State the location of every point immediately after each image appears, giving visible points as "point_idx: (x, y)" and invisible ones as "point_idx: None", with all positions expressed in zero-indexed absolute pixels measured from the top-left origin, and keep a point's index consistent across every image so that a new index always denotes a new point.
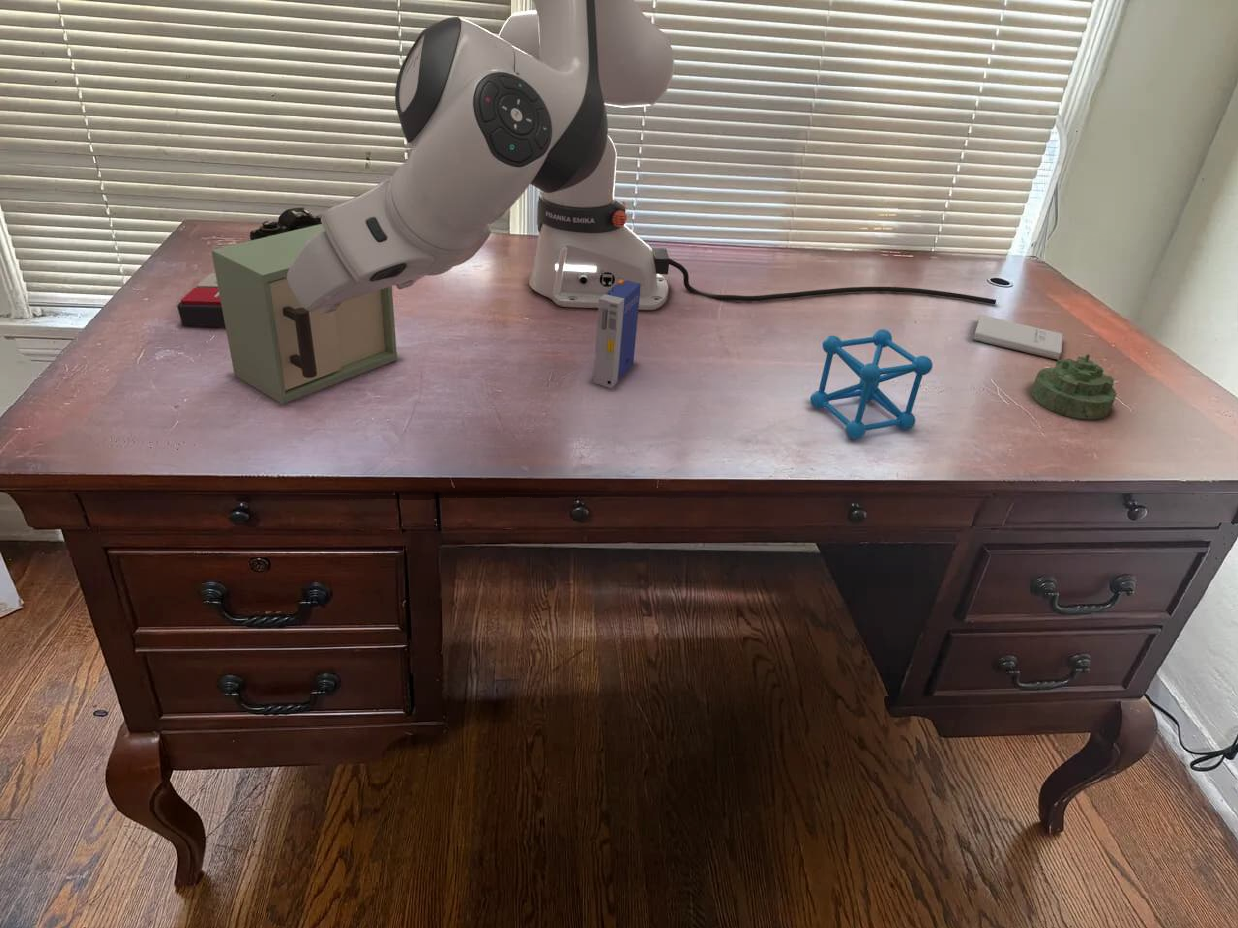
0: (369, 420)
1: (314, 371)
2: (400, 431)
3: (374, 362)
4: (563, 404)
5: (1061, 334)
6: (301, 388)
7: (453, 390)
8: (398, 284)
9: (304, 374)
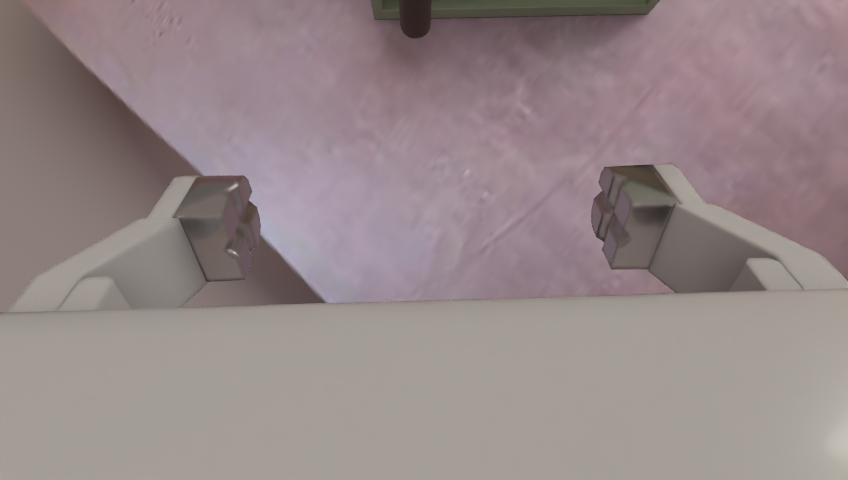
0: (458, 173)
1: (418, 32)
2: (476, 244)
3: (595, 7)
4: None
5: None
6: None
7: None
8: (598, 216)
9: (400, 24)
